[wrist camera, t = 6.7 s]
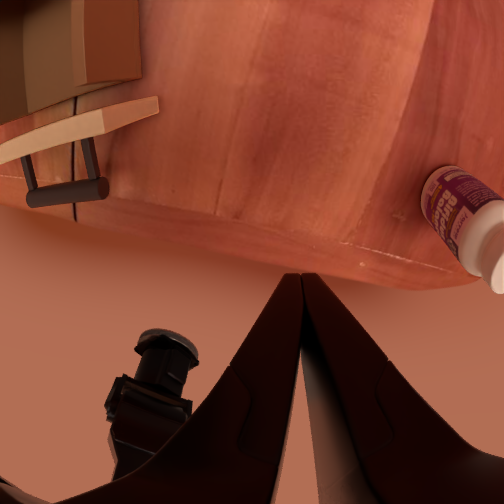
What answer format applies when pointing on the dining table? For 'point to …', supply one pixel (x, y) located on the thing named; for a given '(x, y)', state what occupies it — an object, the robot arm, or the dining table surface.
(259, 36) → the dining table surface
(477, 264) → the pill bottle
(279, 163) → the dining table surface
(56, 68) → the drawer
